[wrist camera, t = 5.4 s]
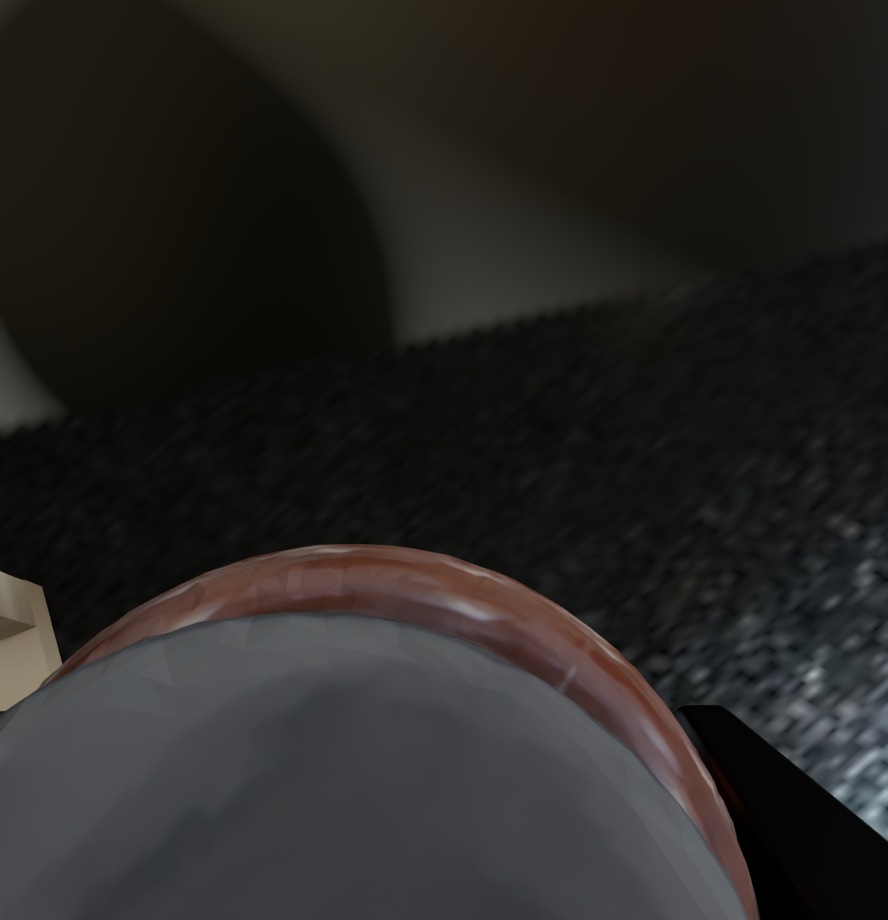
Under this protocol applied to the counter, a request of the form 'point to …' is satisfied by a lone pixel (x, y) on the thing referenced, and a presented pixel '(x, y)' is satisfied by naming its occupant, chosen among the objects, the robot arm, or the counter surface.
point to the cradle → (24, 640)
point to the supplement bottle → (357, 759)
